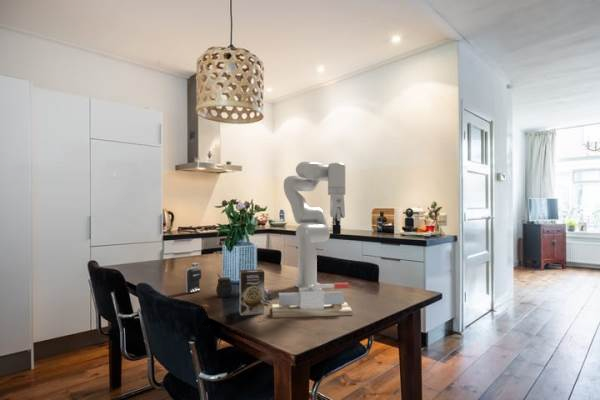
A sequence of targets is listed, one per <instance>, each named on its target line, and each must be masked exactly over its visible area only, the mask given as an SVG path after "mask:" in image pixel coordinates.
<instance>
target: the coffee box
mask: <svg viewBox="0 0 600 400" xmlns="http://www.w3.org/2000/svg"><path fill="white" fill-rule="evenodd" d="M238 273H239V275H238V276H239V280H238V281H239V285H238V287H239V288H238V289H239V290H238V293H239V295H238V312H239V315H240V316H251V315H253V316H254V315H262V314H263V315H264V314H265V303H264V288H265V271H264V270H263V269H261V268H260V269H258V268H257V269H240V270H239V272H238Z"/></svg>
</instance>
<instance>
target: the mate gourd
mask: <svg viewBox="0 0 600 400" xmlns="http://www.w3.org/2000/svg"><path fill="white" fill-rule="evenodd" d="M217 276H218V278H217V285H216V288H215V291H216V295H217V296H218V297H220V298H228V297H230V296H231V294H232V292H233V287H232V284H231V277H228V276H227V277H221V276H220V274H219V273H217Z"/></svg>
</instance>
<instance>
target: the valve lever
mask: <svg viewBox="0 0 600 400" xmlns="http://www.w3.org/2000/svg"><path fill="white" fill-rule="evenodd" d="M314 288H322V289H325V288H327V289H330V288H331V289H332V288H333V289H335V290H336V289H337V290H339V289H350V284H349V283H348V282H333V283H320V284H308V289H314Z"/></svg>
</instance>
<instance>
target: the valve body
mask: <svg viewBox="0 0 600 400" xmlns="http://www.w3.org/2000/svg"><path fill="white" fill-rule="evenodd" d="M344 302H345V293H344V292H343V291H341V290H339V291H337V290H336V291H335V290H333V291H325V290H324V288H314V289H308V287H302V288H298V291H297V292H294V291H293V292H292V291H291V292H278V304H279V306H297V305H299V307H300V311H302V310H324V305H332V304H344Z"/></svg>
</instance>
